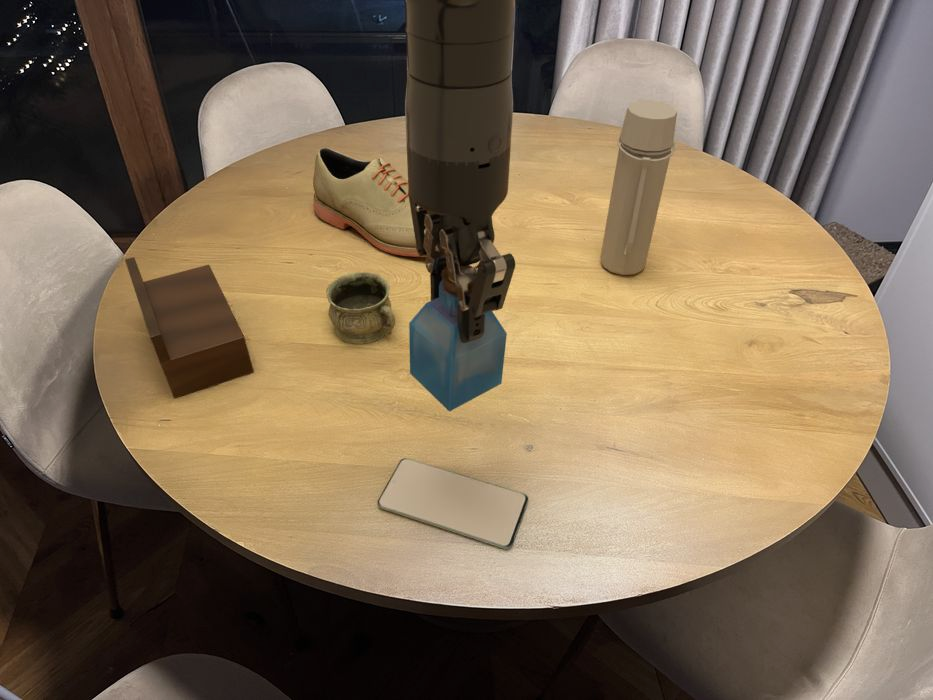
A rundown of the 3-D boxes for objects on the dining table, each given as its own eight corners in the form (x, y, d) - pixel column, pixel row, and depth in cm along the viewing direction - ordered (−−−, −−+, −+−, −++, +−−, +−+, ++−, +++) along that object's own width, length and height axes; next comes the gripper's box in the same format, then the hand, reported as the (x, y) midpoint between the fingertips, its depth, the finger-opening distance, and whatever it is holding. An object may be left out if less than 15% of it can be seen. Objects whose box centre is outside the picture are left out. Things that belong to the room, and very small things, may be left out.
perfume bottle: (461, 348, 67) (466, 246, 60) (501, 383, 64) (512, 279, 56) (410, 373, 64) (408, 269, 57) (449, 411, 61) (453, 306, 53)
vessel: (415, 324, 95) (413, 288, 91) (375, 360, 89) (372, 323, 85) (350, 296, 100) (345, 260, 96) (308, 327, 94) (301, 291, 90)
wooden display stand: (253, 372, 87) (237, 311, 81) (174, 398, 84) (150, 337, 77) (218, 298, 99) (202, 239, 92) (147, 318, 95) (124, 259, 89)
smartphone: (510, 548, 68) (375, 504, 71) (510, 551, 68) (375, 507, 72) (530, 495, 73) (402, 456, 76) (529, 498, 73) (402, 459, 77)
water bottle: (597, 249, 110) (623, 96, 94) (646, 254, 109) (681, 101, 93) (595, 282, 103) (623, 123, 87) (648, 287, 102) (685, 128, 86)
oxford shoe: (454, 277, 104) (454, 210, 96) (293, 222, 115) (281, 158, 107) (488, 243, 111) (491, 178, 103) (334, 195, 122) (326, 133, 115)
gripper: (371, 108, 52) (385, 290, 63) (459, 188, 42) (456, 385, 53) (458, 93, 54) (456, 269, 66) (558, 164, 45) (536, 356, 56)
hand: (456, 321), depth 59 cm, fingers closed on perfume bottle, 4 cm apart
